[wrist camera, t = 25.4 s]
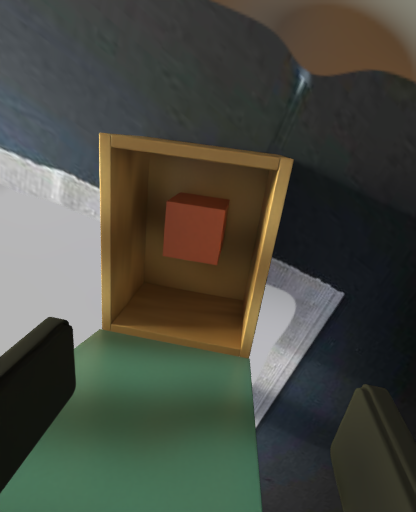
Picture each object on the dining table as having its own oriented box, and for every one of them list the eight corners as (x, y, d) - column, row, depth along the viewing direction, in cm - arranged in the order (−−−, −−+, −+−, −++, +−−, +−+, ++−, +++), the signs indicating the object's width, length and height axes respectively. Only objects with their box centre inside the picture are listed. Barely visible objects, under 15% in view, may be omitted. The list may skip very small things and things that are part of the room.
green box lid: (-188, 547, 8) (-185, 692, 8) (277, 684, 7) (241, 837, 7) (99, 328, 24) (93, 384, 25) (249, 358, 23) (239, 415, 24)
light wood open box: (145, 136, 27) (98, 132, 19) (280, 155, 26) (294, 159, 18) (139, 284, 33) (101, 330, 24) (249, 304, 32) (248, 359, 23)
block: (180, 192, 27) (166, 200, 23) (229, 199, 27) (225, 210, 23) (175, 239, 29) (162, 256, 25) (222, 247, 29) (217, 265, 24)
